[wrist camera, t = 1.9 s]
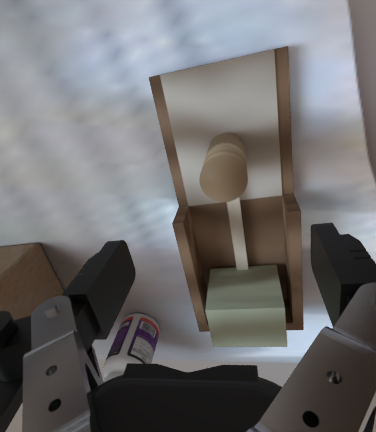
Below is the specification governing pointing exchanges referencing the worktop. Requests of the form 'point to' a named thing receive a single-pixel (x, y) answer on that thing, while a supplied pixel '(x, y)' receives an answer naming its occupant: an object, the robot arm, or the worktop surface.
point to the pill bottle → (132, 344)
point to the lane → (256, 169)
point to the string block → (239, 262)
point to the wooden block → (26, 279)
